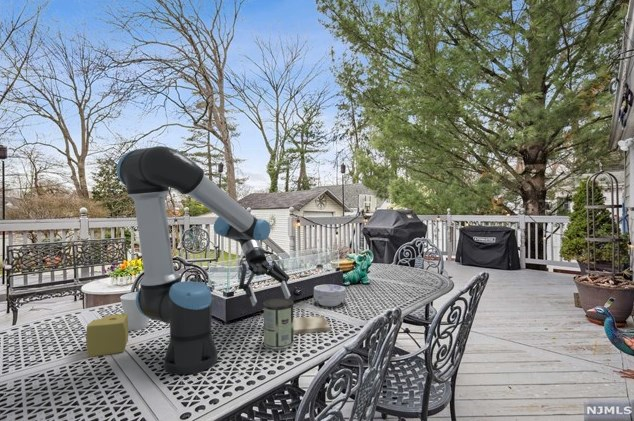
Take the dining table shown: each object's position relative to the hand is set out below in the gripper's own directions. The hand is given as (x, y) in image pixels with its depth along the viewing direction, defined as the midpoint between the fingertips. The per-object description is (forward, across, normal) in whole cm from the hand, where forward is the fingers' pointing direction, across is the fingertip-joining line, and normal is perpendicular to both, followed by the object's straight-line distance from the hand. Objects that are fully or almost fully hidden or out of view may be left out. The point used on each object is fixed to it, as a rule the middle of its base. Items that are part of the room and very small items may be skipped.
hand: (272, 300), depth 124 cm
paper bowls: (-4, -41, -23) cm, 47 cm away
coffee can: (+14, +2, -4) cm, 15 cm away
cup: (-18, +38, -36) cm, 56 cm away
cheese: (-6, +49, -24) cm, 55 cm away
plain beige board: (+9, -14, -9) cm, 19 cm away
